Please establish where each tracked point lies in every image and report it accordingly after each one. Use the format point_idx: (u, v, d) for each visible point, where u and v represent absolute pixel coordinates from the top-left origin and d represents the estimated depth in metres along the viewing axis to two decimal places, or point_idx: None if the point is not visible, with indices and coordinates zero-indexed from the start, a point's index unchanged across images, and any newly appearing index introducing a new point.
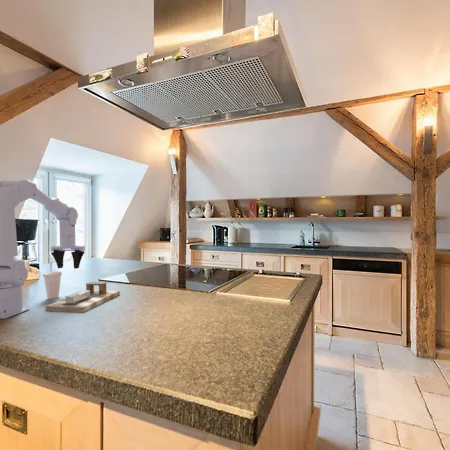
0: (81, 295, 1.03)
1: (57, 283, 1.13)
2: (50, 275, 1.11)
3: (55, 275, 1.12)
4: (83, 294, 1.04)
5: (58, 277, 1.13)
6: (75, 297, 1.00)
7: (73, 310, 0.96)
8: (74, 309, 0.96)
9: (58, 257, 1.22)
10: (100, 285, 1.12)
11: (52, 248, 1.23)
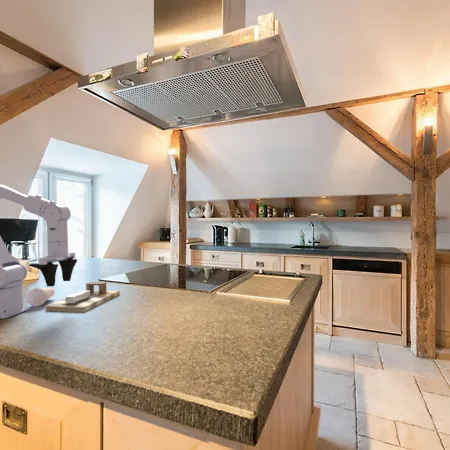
0: (81, 295, 1.03)
1: (48, 297, 1.06)
2: (39, 305, 1.03)
3: (43, 302, 1.03)
4: (83, 294, 1.04)
5: None
6: (75, 297, 1.00)
7: (73, 310, 0.96)
8: (74, 309, 0.96)
9: (63, 267, 0.99)
10: (100, 285, 1.12)
11: None
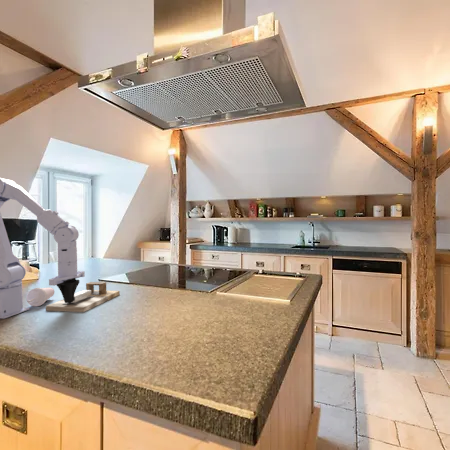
0: (82, 295, 1.03)
1: (48, 297, 1.06)
2: (39, 305, 1.03)
3: (43, 302, 1.03)
4: (84, 294, 1.04)
5: None
6: (76, 297, 1.00)
7: (73, 310, 0.96)
8: (74, 309, 0.96)
9: None
10: (100, 285, 1.12)
11: None
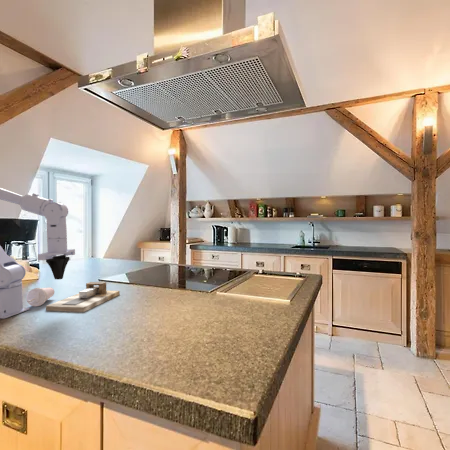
0: (93, 290, 1.10)
1: (48, 297, 1.06)
2: (39, 305, 1.03)
3: (43, 302, 1.03)
4: (95, 289, 1.11)
5: None
6: (88, 292, 1.06)
7: (73, 310, 0.96)
8: (74, 309, 0.96)
9: None
10: (100, 285, 1.12)
11: None
